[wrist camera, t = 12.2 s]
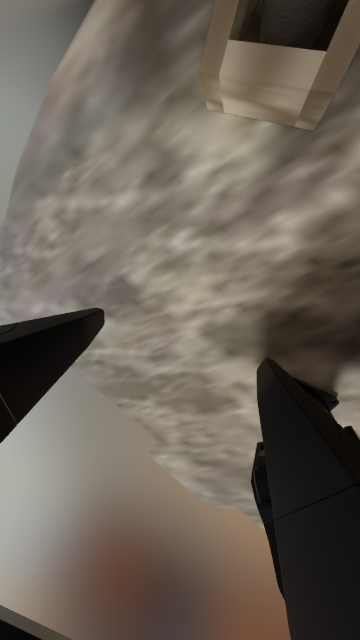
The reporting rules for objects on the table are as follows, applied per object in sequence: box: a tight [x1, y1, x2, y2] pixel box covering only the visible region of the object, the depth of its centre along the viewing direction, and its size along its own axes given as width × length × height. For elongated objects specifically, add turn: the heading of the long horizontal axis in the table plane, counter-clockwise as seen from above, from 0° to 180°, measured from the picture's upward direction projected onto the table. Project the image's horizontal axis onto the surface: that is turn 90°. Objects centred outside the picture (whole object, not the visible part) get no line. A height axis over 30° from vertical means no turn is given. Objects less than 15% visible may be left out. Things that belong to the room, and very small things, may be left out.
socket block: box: [199, 0, 360, 131], centre depth 10 cm, size 9×9×4 cm
